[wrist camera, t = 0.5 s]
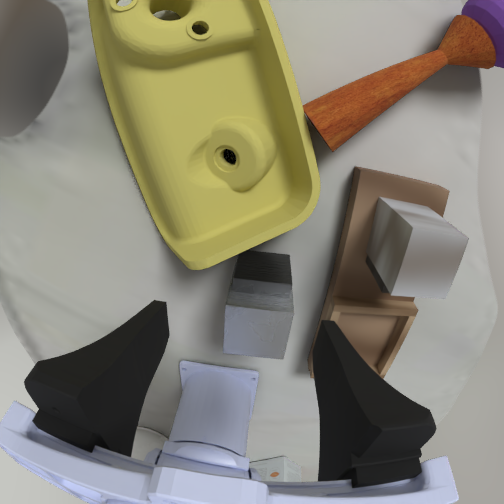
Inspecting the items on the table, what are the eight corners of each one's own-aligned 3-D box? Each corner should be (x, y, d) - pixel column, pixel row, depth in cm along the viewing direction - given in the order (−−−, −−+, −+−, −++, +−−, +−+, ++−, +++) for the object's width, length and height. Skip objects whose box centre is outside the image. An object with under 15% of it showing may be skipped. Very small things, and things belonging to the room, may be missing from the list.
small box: (261, 473, 41) (256, 535, 30) (241, 462, 39) (233, 530, 27) (302, 466, 39) (302, 532, 27) (284, 454, 37) (282, 528, 25)
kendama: (353, 182, 14) (557, 58, 7) (285, 86, 13) (516, -18, 5) (337, 160, 20) (512, 58, 12) (287, 91, 18) (477, -3, 10)
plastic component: (327, 213, 18) (175, 283, 16) (275, 191, 24) (162, 239, 22) (238, -71, 9) (66, -35, 6) (206, -23, 15) (82, 11, 13)
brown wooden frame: (375, 361, 26) (391, 416, 20) (307, 359, 27) (312, 419, 20) (439, 185, 18) (494, 218, 12) (354, 166, 19) (392, 192, 12)
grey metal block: (282, 306, 24) (283, 359, 19) (233, 301, 24) (223, 352, 19) (291, 252, 22) (296, 299, 16) (238, 246, 22) (226, 291, 17)
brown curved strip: (112, 406, 34) (86, 466, 24) (194, 435, 35) (180, 500, 26) (114, 436, 40) (96, 485, 30) (181, 460, 41) (170, 511, 31)
